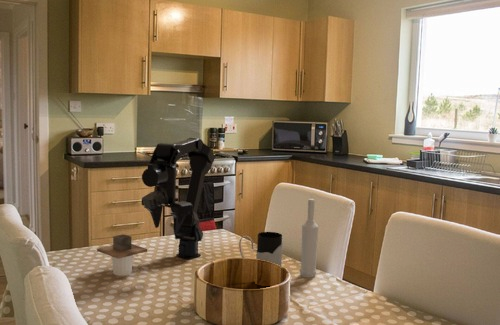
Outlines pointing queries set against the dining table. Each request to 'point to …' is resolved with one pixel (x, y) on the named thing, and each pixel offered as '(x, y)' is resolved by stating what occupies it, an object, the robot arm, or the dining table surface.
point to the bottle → (309, 243)
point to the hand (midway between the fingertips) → (166, 230)
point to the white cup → (122, 265)
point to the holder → (267, 247)
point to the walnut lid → (121, 247)
